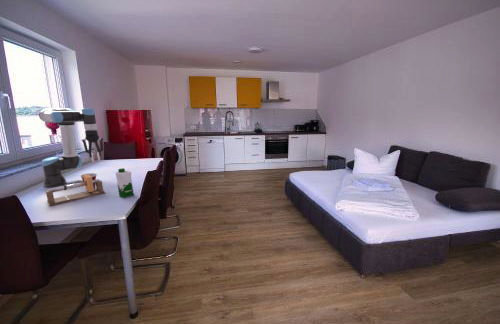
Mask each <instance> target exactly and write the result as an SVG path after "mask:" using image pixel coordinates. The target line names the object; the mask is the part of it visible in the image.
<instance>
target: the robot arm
mask: <svg viewBox="0 0 500 324" xmlns="http://www.w3.org/2000/svg"><path fill="white" fill-rule="evenodd" d="M38 117H39V119H40V120H41V121H42V122H45V123H49V124H57V126H59V128H60V130H59V131H60V136H61V142H62V143H61V144H62V149H63V150H62V152H63V153H62V154H61V157H59V156H51V157H47V158H45V159H42V160H41V167H42V169H43V170H42V171H43V175H44V179H43V187H45V188H54V187H60V186H63V185H64V184H65V185H66V183H67V180H66V178H65V176H64V174H63V172H65V171H71V170H77V169H80V168H81V166H82V163H83V162H82V156H81V155H79V154H78V153H77V151H76V142H75V141H76V140H75V136H74V135H75V134H74V127H75V125H76V123H77V122H82V123H83V127H84V133H85V134H84V135H85V137H84V138H83V139H81V142H82V143H83V147H84V152H85V153H87V154H88V157H89V158H90V159H91V162H93V163H94V162H95V160H94V153H93V152H92V148H93V147H92V144H93V143H94V145H95V147H96V150H97V151H96V156H97V161H98V162H100V161H101V156H102V154H101V152H103V151H104V144H103V143H104V138H103V137H100V136H99V133H98V127H97V126H98V125H97V120H96V113H95V109H94V108H92V107H91V108H90V107H87V108H86V107H85V108H83V107H82V108H81V110H73V109H72V108H65V107H64V108H63V107H62V108H61V107H60V108H54V107H53V108H50V107H49V108H44V109H42V110H40V111H39V113H38ZM98 140H99V144H98ZM87 142H88V146H87Z"/></svg>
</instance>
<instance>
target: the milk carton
mask: <svg viewBox="0 0 500 324" xmlns="http://www.w3.org/2000/svg"><path fill="white" fill-rule="evenodd" d="M114 173H115V177H116V181H117V182H116V183H117V191H118V195H119V197H121V198H124V199H126V198H128V197H132V196H134V195H135V194H134V188H133V181H132V171H129V170H125V168H119V169H118V171H117V172H114Z"/></svg>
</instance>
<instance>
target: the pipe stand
mask: <svg viewBox="0 0 500 324" xmlns="http://www.w3.org/2000/svg"><path fill="white" fill-rule="evenodd" d="M45 194H46V199H47V200H46V201H47V203H48V205H49V206H50V207H53V206H57V205H63V204H65V203H69V202H75V201H78V200H79V201H80V200H83V199H88V198H91V197H96V196H100V195H104V194H106V192H105V191H104V186H103V181H102V180H100V179H99V182H97V184H95V189H94V191H93V192H89V191H87V190H86V191H81V192H78V193H72V194H67V195H63V196H59V197H55V196H54V192H53V191H49V189H46V190H45Z"/></svg>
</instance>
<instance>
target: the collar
mask: <svg viewBox="0 0 500 324" xmlns="http://www.w3.org/2000/svg"><path fill="white" fill-rule="evenodd" d="M85 174H86V175H83V174H82V175H83V178H84V182H86V181H87V186H84V188H85V190H86V191H89V192H93V191H94V187H93V181H92V177H91V176H90V175H88V173H85Z"/></svg>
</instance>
